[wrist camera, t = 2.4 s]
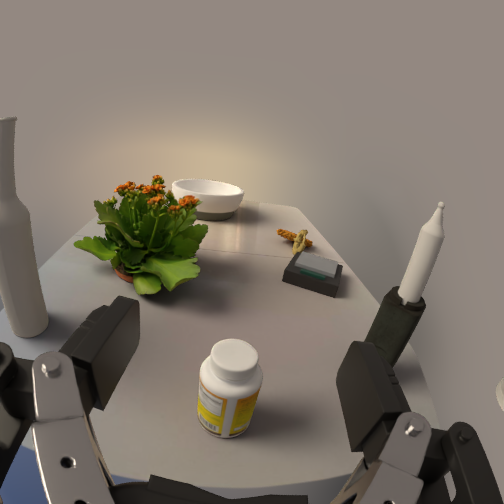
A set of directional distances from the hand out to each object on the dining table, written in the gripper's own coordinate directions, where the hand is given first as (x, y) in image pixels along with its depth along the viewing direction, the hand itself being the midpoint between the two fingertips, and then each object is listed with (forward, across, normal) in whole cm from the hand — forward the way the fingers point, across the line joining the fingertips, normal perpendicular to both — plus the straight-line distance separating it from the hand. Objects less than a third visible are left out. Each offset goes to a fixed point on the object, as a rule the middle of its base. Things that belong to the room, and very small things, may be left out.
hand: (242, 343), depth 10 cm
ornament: (+63, -12, +18) cm, 67 cm away
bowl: (+81, +15, +18) cm, 84 cm away
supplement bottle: (+10, -1, +20) cm, 22 cm away
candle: (+19, -20, +19) cm, 33 cm away
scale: (+47, -15, +18) cm, 53 cm away
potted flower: (+38, +20, +19) cm, 47 cm away
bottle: (+16, +29, +20) cm, 39 cm away
